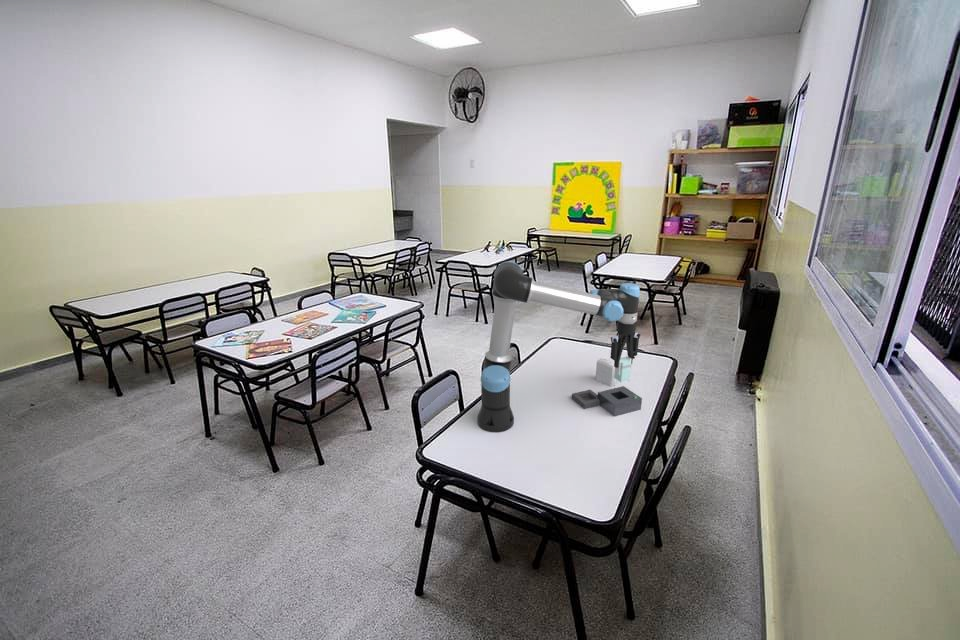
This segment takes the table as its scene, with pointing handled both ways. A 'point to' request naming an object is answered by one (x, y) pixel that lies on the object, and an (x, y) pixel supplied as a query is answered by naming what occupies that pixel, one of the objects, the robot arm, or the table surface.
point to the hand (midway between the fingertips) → (622, 372)
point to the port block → (619, 401)
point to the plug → (624, 370)
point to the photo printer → (605, 372)
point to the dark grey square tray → (586, 399)
